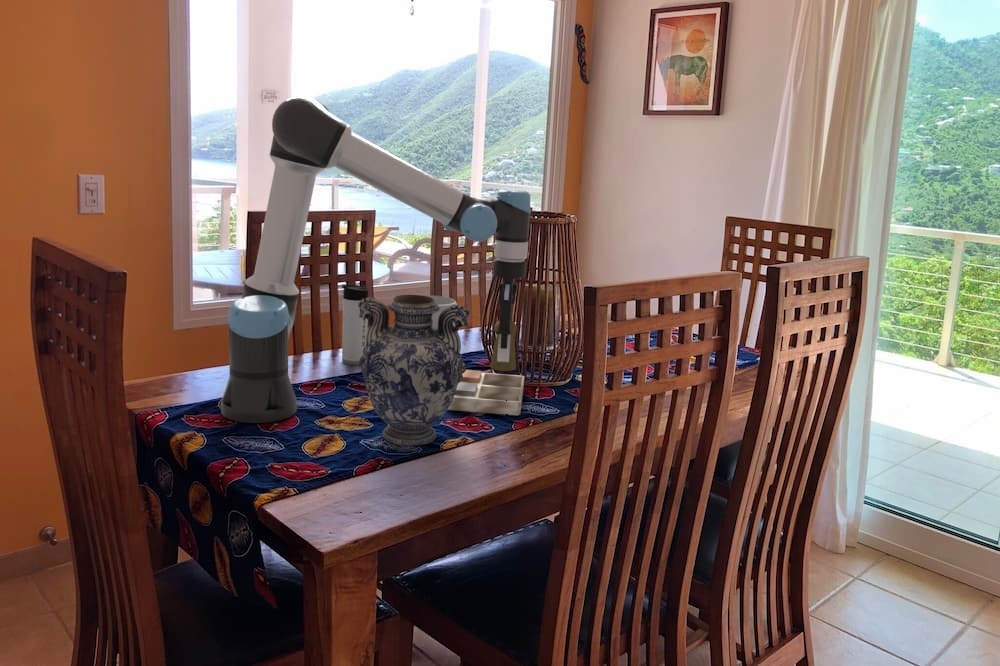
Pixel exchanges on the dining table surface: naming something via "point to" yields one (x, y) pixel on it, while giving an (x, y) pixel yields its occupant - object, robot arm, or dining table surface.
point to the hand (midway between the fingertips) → (503, 357)
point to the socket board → (488, 393)
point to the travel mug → (353, 324)
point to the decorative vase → (411, 364)
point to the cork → (512, 361)
